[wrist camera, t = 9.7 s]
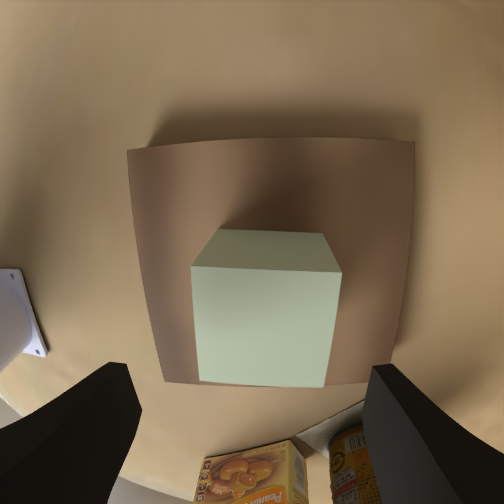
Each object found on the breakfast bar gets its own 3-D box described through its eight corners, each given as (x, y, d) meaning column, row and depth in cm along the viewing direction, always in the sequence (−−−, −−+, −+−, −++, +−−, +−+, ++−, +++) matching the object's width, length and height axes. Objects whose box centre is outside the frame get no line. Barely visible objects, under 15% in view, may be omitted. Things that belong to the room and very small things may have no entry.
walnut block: (176, 355, 22) (164, 381, 19) (149, 149, 17) (126, 150, 14) (374, 353, 20) (385, 380, 18) (393, 142, 16) (414, 142, 13)
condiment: (344, 469, 24) (357, 573, 13) (295, 433, 23) (296, 564, 11) (411, 435, 23) (445, 541, 11) (373, 391, 21) (413, 529, 10)
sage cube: (219, 320, 17) (199, 380, 12) (217, 229, 15) (190, 266, 11) (313, 324, 16) (323, 387, 12) (322, 233, 15) (341, 272, 10)
